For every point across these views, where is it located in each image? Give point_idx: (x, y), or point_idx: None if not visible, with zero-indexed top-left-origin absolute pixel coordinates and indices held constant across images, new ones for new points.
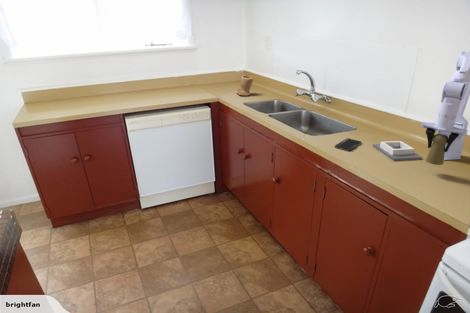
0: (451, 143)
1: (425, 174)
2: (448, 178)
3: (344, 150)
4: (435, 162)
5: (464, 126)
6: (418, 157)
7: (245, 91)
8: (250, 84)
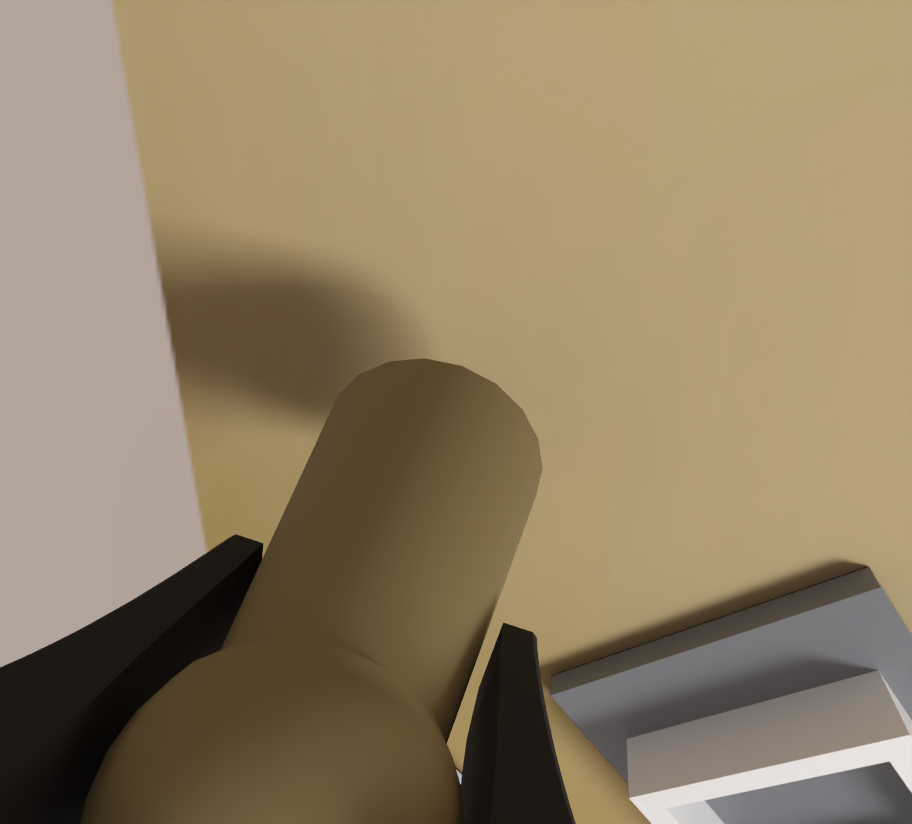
0: (31, 654)
1: (523, 326)
2: (303, 330)
3: None
4: (411, 378)
5: None
6: (580, 683)
7: None
8: None
